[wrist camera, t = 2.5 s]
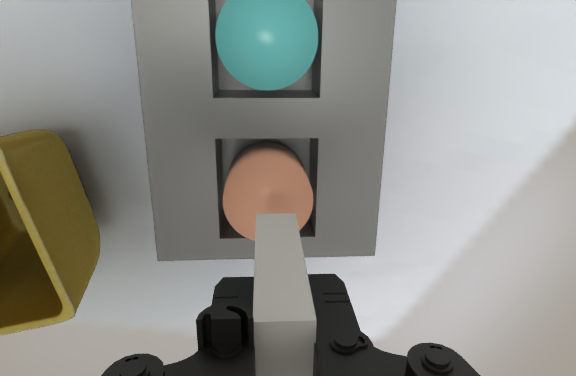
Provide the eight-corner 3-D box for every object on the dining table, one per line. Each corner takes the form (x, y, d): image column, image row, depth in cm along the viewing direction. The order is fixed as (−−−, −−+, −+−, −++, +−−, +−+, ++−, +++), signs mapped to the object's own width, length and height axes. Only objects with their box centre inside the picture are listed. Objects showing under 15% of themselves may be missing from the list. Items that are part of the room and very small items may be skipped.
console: (174, 223, 28) (157, 260, 23) (137, -219, 20) (100, -296, 16) (355, 220, 29) (374, 255, 24) (384, -207, 21) (420, -277, 16)
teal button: (223, 83, 22) (217, 90, 19) (219, -12, 20) (212, -20, 17) (308, 83, 22) (316, 90, 19) (310, -10, 21) (320, -18, 18)
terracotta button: (228, 218, 24) (224, 243, 21) (225, 142, 23) (220, 158, 20) (305, 216, 25) (312, 241, 22) (307, 142, 23) (314, 157, 20)
